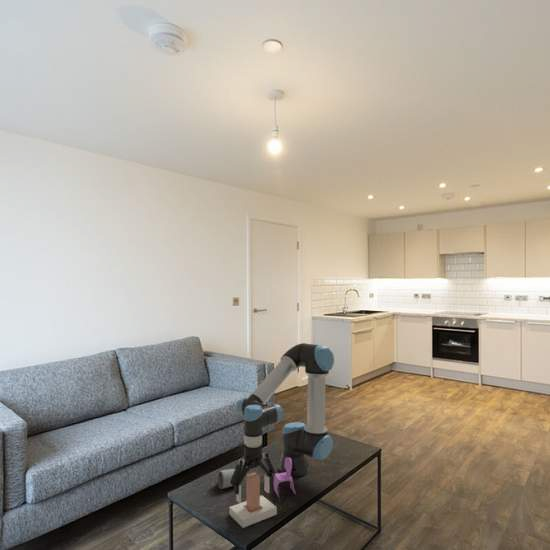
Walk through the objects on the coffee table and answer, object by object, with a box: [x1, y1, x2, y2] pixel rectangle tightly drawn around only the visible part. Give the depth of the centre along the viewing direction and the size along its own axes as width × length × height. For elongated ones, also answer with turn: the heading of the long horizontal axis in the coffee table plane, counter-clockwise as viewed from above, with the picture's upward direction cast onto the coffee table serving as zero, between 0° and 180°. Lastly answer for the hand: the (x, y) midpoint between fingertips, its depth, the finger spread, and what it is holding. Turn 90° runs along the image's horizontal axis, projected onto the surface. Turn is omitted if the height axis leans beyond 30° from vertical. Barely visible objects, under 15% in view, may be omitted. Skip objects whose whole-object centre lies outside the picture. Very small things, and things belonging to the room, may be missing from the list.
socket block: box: [228, 495, 278, 529], centre depth 163 cm, size 16×11×3 cm
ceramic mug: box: [217, 468, 235, 490], centre depth 188 cm, size 11×8×8 cm
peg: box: [245, 471, 261, 513], centre depth 163 cm, size 4×4×16 cm
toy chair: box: [273, 457, 297, 498], centre depth 181 cm, size 8×9×15 cm
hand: (253, 496), depth 163 cm, fingers open, 13 cm apart
